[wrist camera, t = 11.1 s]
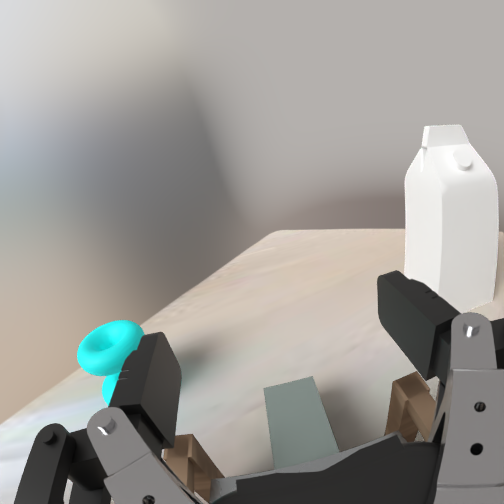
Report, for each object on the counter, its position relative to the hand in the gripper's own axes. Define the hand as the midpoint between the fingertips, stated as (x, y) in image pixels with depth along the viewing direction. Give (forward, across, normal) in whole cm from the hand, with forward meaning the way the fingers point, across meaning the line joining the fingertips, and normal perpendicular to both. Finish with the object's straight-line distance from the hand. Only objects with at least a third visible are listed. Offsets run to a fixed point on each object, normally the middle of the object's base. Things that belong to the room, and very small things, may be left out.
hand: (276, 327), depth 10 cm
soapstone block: (0, 0, +17) cm, 17 cm away
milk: (+24, -29, +21) cm, 43 cm away
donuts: (+21, +20, +21) cm, 36 cm away
